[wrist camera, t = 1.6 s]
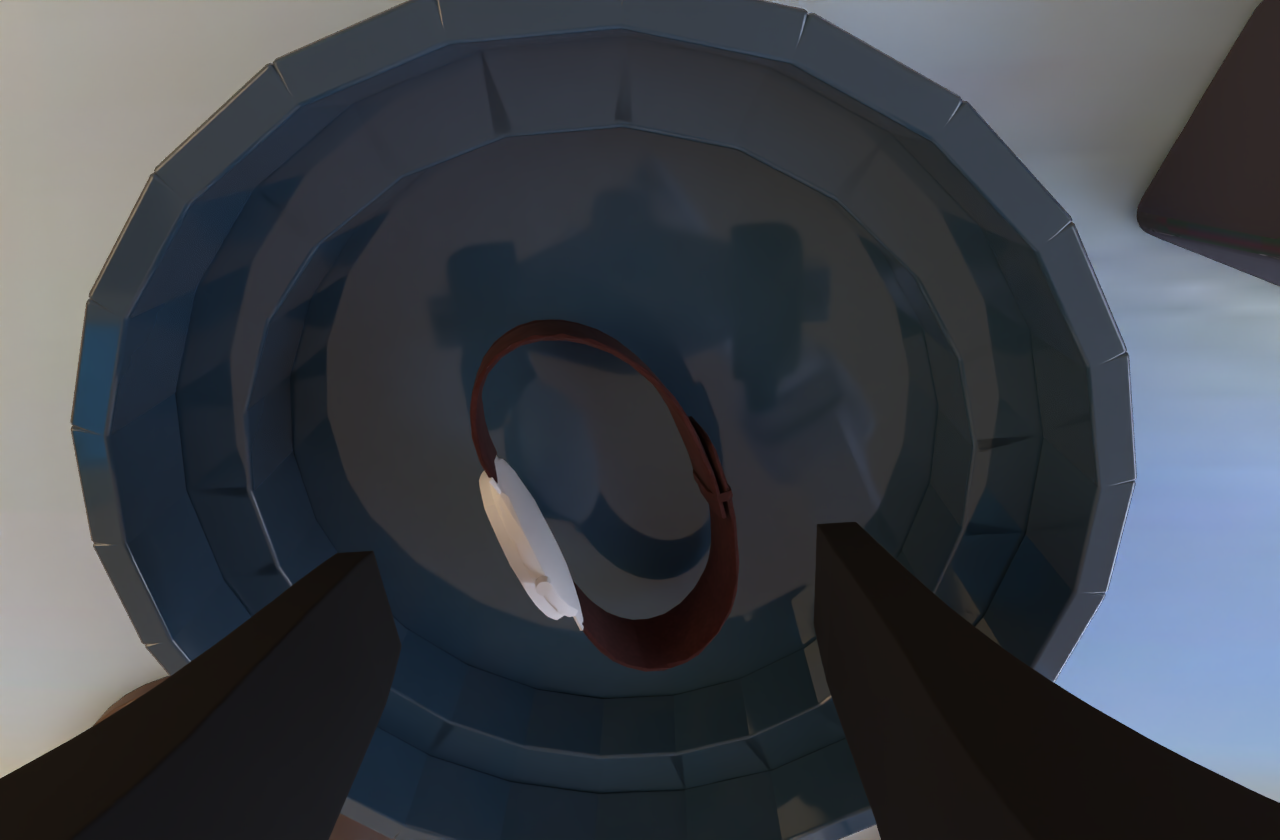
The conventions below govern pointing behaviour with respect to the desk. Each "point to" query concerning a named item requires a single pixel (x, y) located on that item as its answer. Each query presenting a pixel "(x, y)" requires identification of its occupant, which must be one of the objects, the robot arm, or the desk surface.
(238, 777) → the robot arm
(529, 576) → the watch
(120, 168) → the desk surface
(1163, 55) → the desk surface
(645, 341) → the bowl
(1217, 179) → the calculator
